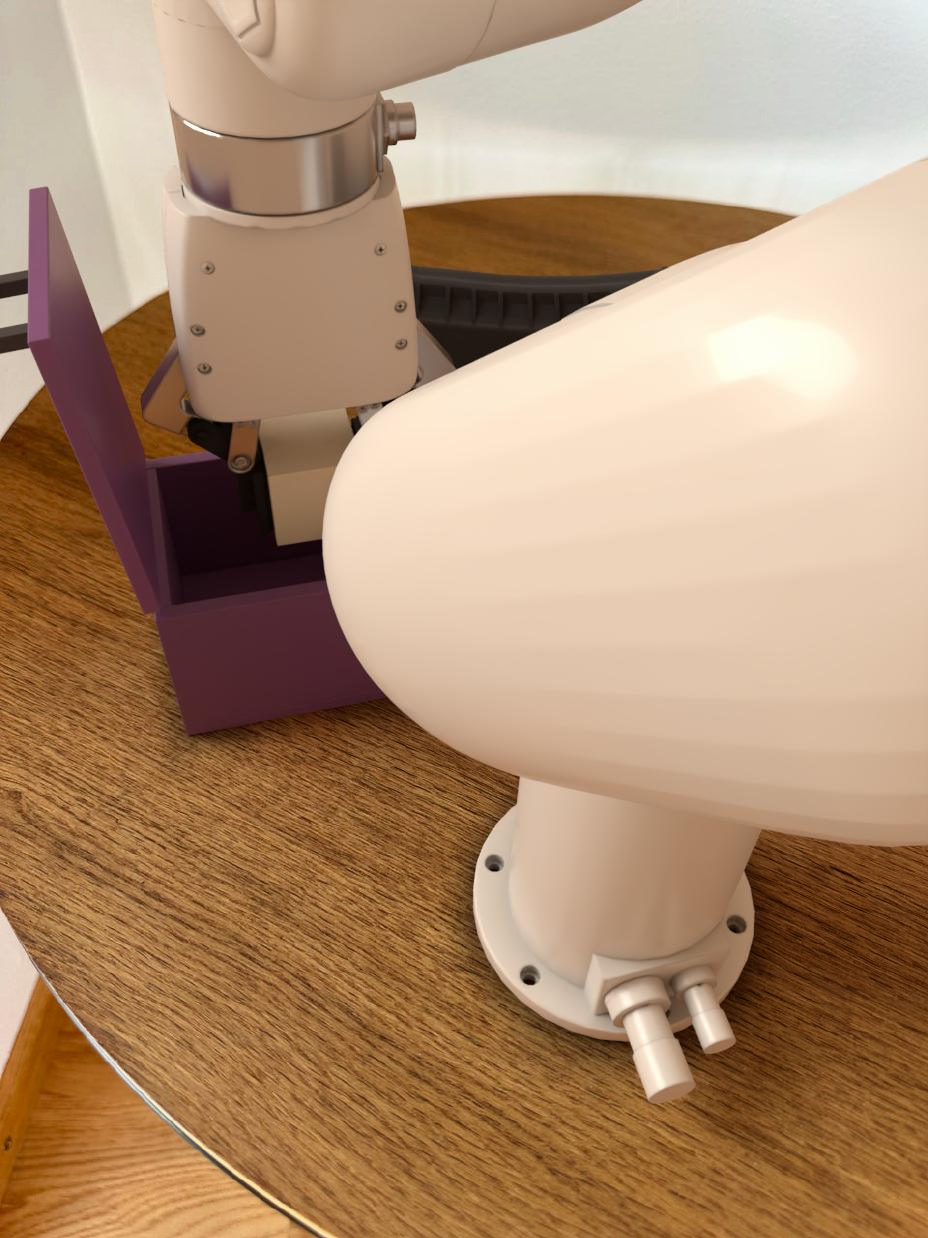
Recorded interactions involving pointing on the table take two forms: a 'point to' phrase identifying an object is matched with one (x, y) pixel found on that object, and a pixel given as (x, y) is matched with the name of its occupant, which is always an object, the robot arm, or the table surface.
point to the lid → (84, 391)
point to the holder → (242, 607)
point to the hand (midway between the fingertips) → (314, 505)
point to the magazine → (502, 305)
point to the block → (302, 469)
